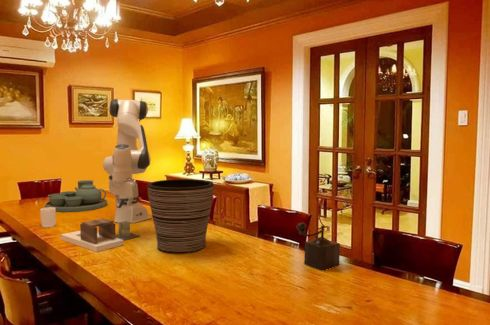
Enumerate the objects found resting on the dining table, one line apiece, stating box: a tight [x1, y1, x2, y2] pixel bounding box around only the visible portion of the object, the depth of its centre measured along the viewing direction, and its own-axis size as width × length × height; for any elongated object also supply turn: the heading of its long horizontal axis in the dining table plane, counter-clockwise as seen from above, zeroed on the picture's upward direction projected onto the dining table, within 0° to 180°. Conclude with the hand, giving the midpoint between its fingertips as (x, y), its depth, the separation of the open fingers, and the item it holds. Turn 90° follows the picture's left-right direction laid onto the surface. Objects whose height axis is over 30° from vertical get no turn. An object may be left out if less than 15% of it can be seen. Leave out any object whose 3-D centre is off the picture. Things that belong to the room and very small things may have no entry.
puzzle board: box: [60, 230, 124, 253], centre depth 198 cm, size 14×32×2 cm, turn 51°
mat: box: [116, 232, 141, 242], centre depth 208 cm, size 11×11×1 cm
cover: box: [79, 218, 117, 244], centre depth 194 cm, size 11×12×8 cm
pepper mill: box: [296, 222, 341, 271], centre depth 165 cm, size 16×11×18 cm
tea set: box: [44, 179, 108, 213], centre depth 285 cm, size 40×40×16 cm
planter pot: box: [147, 178, 215, 255], centre depth 190 cm, size 30×30×30 cm
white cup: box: [39, 207, 57, 228], centre depth 229 cm, size 8×8×10 cm
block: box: [118, 221, 131, 237], centre depth 208 cm, size 4×4×7 cm
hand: (123, 204), depth 207 cm, fingers open, 8 cm apart
